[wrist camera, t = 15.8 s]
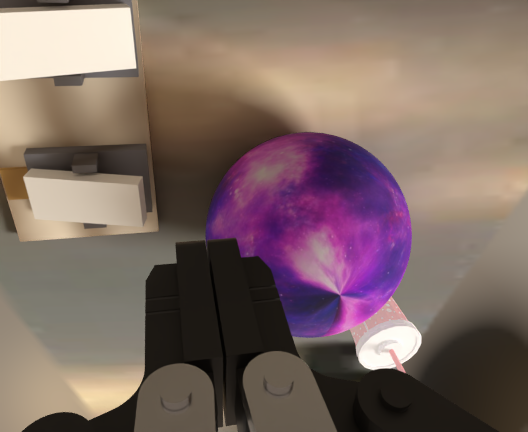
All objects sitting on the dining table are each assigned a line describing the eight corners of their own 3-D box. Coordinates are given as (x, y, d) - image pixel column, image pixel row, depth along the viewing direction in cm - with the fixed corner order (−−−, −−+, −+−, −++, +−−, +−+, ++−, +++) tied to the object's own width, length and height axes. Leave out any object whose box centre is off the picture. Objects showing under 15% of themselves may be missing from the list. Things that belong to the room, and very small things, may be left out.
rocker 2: (142, 176, 33) (137, 185, 32) (147, 217, 35) (142, 227, 34) (31, 168, 33) (23, 176, 32) (42, 210, 35) (34, 219, 34)
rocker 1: (125, 3, 29) (130, 7, 28) (131, 62, 31) (136, 68, 30) (-24, 9, 25) (-24, 13, 24) (-5, 75, 27) (-5, 81, 27)
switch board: (104, -343, 22) (97, -380, 19) (158, 224, 41) (159, 251, 38) (-165, -384, 20) (-222, -432, 17) (22, 234, 39) (12, 263, 36)
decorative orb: (376, 94, 38) (481, 192, 26) (354, 239, 46) (425, 363, 34) (190, 107, 35) (210, 222, 23) (203, 258, 44) (224, 398, 32)
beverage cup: (351, 310, 53) (406, 425, 41) (316, 288, 49) (365, 406, 38) (393, 276, 51) (462, 387, 40) (360, 251, 48) (425, 364, 36)
